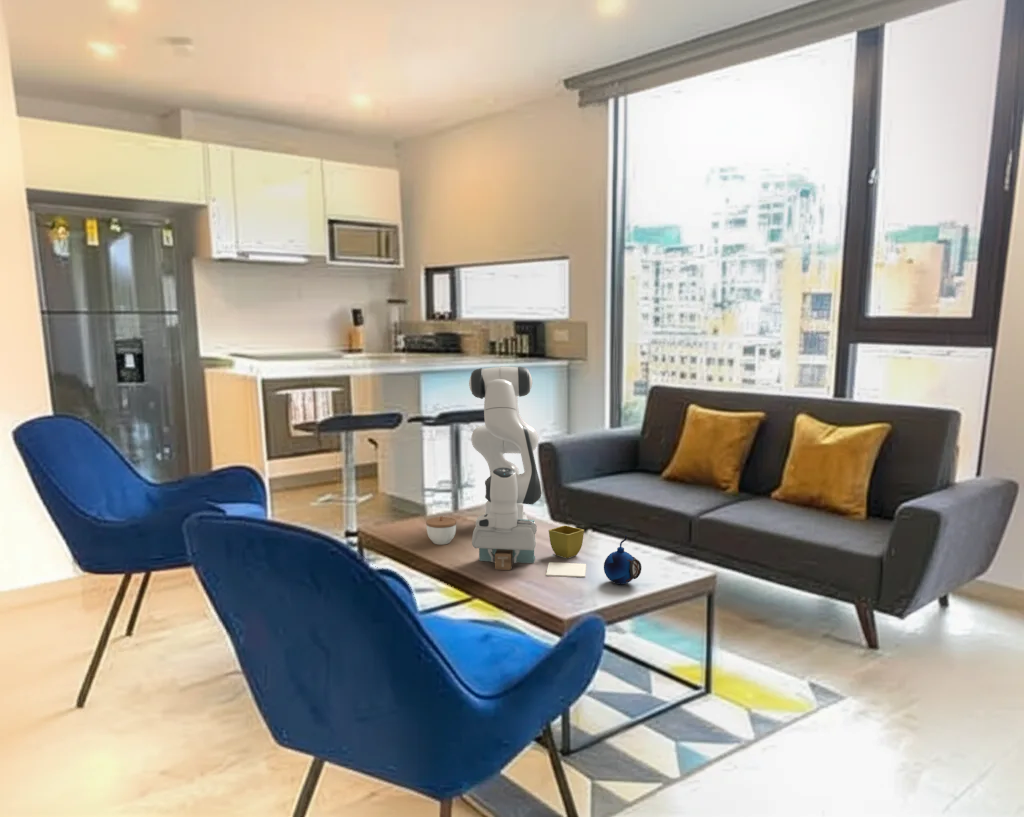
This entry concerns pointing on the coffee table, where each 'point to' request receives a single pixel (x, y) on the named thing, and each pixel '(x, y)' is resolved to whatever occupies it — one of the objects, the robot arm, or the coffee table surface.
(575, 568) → the pad
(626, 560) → the bomb
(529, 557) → the screen
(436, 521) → the lidded jar
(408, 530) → the coffee table surface
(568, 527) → the flower pot
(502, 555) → the brown block
